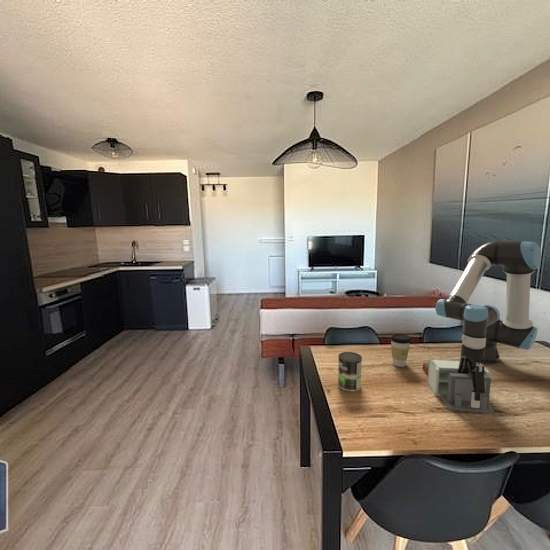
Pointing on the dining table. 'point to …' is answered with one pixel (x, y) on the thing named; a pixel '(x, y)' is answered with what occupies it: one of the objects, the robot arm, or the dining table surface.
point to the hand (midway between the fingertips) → (468, 399)
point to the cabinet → (439, 384)
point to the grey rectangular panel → (464, 388)
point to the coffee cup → (400, 348)
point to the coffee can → (349, 371)
